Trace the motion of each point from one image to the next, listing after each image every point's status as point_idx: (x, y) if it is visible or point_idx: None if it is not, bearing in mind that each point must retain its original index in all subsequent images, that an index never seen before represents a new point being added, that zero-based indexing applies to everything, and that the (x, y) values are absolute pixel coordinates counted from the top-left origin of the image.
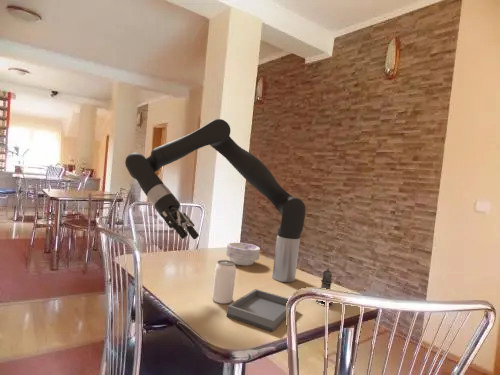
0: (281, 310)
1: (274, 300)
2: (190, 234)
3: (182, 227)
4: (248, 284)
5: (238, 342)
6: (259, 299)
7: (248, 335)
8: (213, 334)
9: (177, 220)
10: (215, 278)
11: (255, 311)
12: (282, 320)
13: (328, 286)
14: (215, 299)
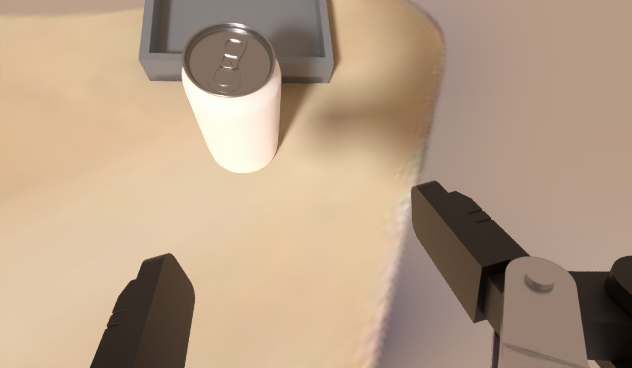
0: None
1: (159, 11)
2: (184, 349)
3: (476, 241)
4: (17, 151)
5: (403, 18)
6: (175, 50)
7: (366, 14)
8: (418, 64)
9: (583, 348)
10: (275, 120)
11: (266, 30)
12: None
13: None
14: (277, 144)
